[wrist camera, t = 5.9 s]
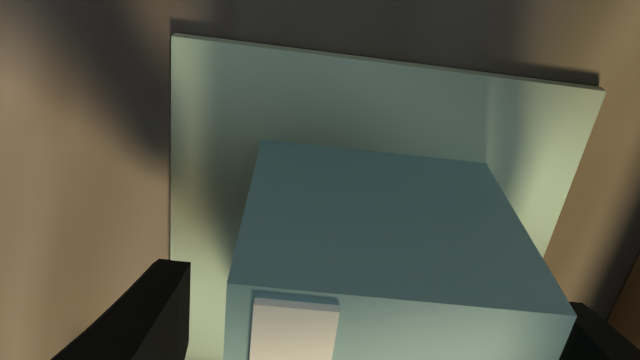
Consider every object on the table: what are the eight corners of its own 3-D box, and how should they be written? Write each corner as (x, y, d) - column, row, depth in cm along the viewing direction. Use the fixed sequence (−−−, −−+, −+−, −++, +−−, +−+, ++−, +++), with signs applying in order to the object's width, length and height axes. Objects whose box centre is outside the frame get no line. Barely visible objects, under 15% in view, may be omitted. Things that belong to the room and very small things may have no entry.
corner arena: (571, 464, 18) (615, 566, 15) (121, 424, 17) (84, 525, 14) (831, -41, 11) (1000, -17, 8) (90, -148, 10) (6, -160, 7)
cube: (486, 163, 12) (582, 323, 8) (438, 333, 15) (491, 533, 10) (261, 139, 12) (225, 290, 8) (248, 315, 14) (215, 513, 10)
